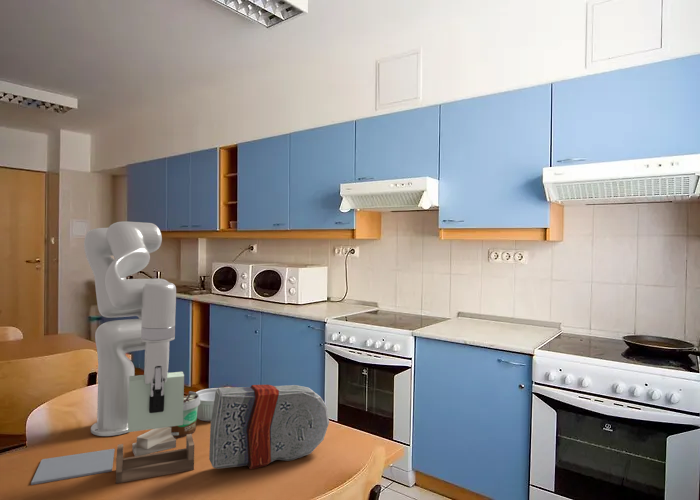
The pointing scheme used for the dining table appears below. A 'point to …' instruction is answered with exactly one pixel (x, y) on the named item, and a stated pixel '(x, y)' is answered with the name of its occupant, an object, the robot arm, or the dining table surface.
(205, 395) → the ramekin
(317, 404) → the decorative stone tablet
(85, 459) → the mat
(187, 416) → the food container
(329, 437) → the dining table surface
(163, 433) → the upper offcut
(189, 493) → the dining table surface
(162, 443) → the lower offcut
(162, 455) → the rack
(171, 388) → the sheet
